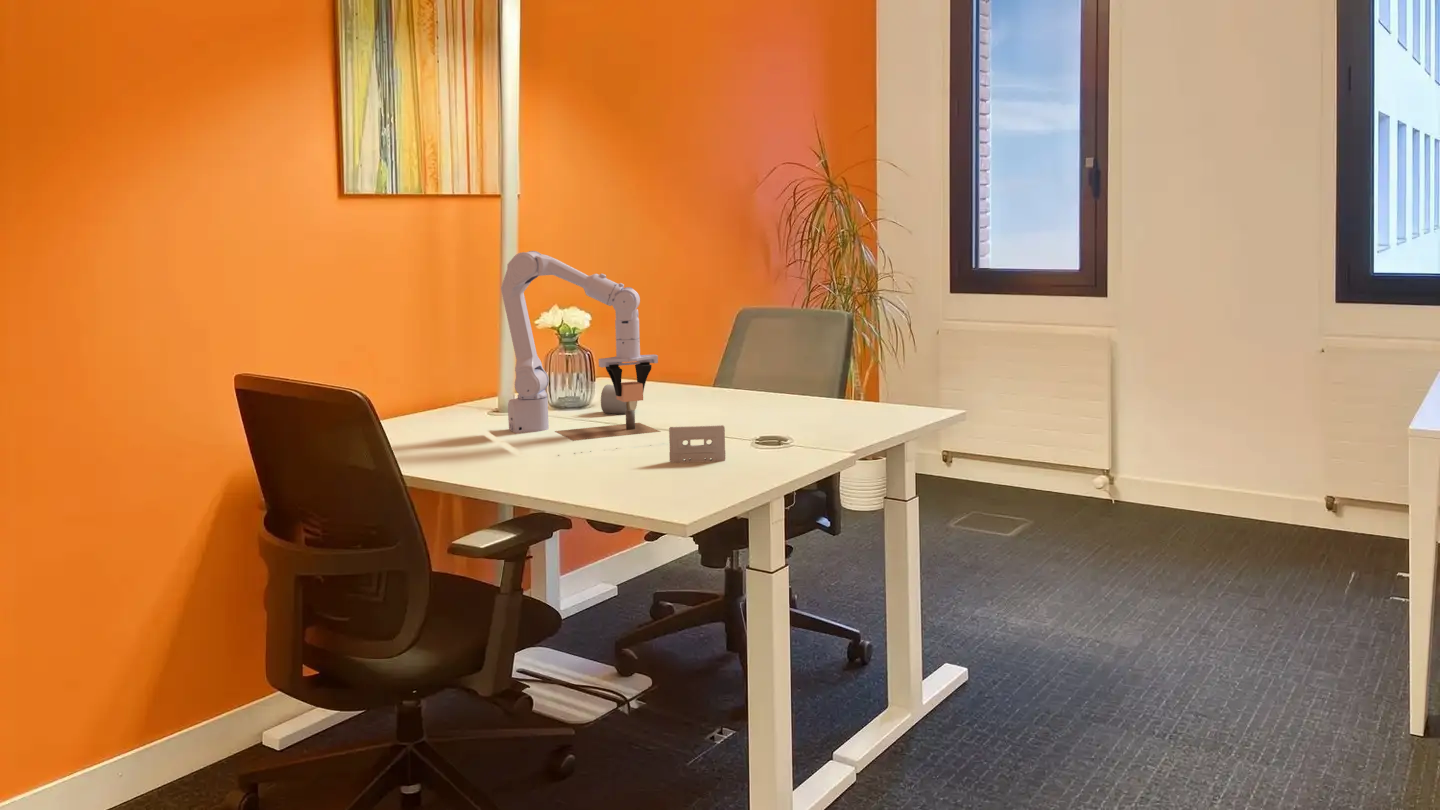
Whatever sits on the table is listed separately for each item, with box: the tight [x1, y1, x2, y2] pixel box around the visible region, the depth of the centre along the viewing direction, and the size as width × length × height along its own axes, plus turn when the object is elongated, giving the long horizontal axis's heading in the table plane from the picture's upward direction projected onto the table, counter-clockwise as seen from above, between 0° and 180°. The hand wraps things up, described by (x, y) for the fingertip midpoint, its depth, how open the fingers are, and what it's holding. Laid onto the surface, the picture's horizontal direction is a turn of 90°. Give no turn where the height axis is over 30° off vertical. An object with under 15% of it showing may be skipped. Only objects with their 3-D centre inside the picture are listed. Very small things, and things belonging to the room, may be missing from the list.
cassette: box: [668, 424, 726, 463], centre depth 264 cm, size 12×2×8 cm, turn 93°
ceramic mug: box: [600, 384, 638, 415], centre depth 328 cm, size 11×8×8 cm
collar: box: [616, 380, 644, 402], centre depth 297 cm, size 5×5×4 cm
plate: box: [554, 409, 662, 442], centre depth 296 cm, size 22×14×6 cm, turn 115°
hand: (629, 394), depth 297 cm, fingers closed on collar, 5 cm apart
